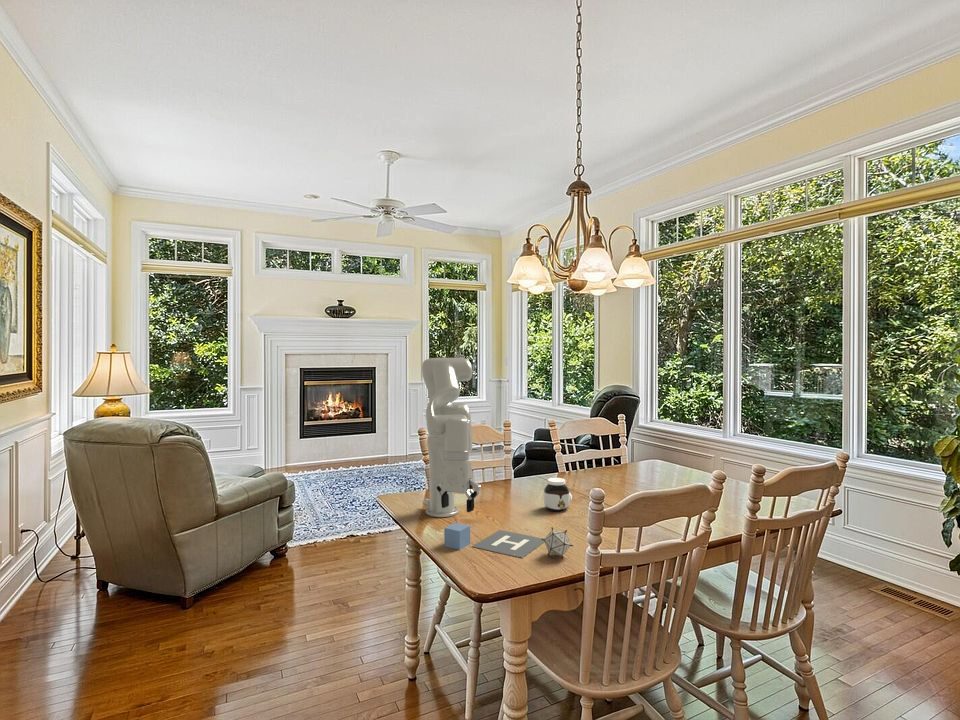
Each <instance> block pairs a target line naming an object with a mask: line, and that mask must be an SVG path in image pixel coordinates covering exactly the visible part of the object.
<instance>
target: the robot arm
mask: <svg viewBox="0 0 960 720" xmlns="http://www.w3.org/2000/svg"><path fill="white" fill-rule="evenodd" d="M472 366H473V365H472V363H471V362H470V360H469V359H468V358H466V357H431V358H426V359H425V360H424V361H422V364H421V373H422V377H423V381H424V384H425V386H426V389H427V393H428V403H427V405H426V409H425V419H426V429H427V433H428V435H427V438H426V439H427V440H426V445H427V453H428V460H429V461H428V463H429V465H428V466H429V498H424V499H423V500H422V505H423V506H426V507H427V508H426V509H425V514H426V515H427V516H429V517H432V518H449V517H452V516H453V517H454V516H456V515H457V514H458V513H459V508H458V507H457V506H455V494H463V495H465V496H466V497H467V499H466V512H467V513H471V512H473V511H474V509H475V499H476V498H477V496H478V495H479V494H480V491H481V489H482V486H481V484H479V483H478V482H477V481H475V480H474V476H473V466H472V463H471V460H470V458H469V457H470V453H471V452H472V450H473V434H472V433H473V432H472V416H471V411H470V410H471V409H470V407H469V406H468V404H466V403H463V402H454V401H456V400H457V399H458V398H459V397H460V395H461V389H460V384H459V382H469V381H471V379H472V377H473V367H472ZM473 489H474V490H473Z"/></svg>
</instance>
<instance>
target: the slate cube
mask: <svg viewBox="0 0 960 720" xmlns="http://www.w3.org/2000/svg"><path fill="white" fill-rule="evenodd" d="M443 529H444V530H443V531H444V532H443V533H444V535H443V537H444V538H443V539H444V540H443V541H444V544H443V545H444V547H447V548H451V549H455V550H459V551H460V550H462V549H464V548H466V547H468V546H469V545H471V525H467V524H464V523H458V522H454V523H452V524H449V525H448V526H446V527H444V528H443ZM467 545H468V546H467Z"/></svg>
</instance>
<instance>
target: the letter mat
mask: <svg viewBox="0 0 960 720" xmlns="http://www.w3.org/2000/svg"><path fill="white" fill-rule="evenodd" d="M541 539H544V538H542V537H537V536H532V535H526V534H524V533H523V534H522V533H517V532H512V531H507V530H503V529H498V530H497V531H495V532H494V533H492V534H490V535H489V536H487V537H485V538H483V539H482V540H480V541H479V542H477V543H475V544H473V545H472V548H475V549H478V550H479V549H480V550H483V551H489V552H493V553H496V554H497V553H498V554H501V555H505V554H507V556H510V555H512V556H511V557H514V556H516V557H515V558H519V557H521V558H520V559H524V558H525V557H526V556H527V554H528V553H529V554H530V553H532V552H533V551H534V550H536V549H538V548H539V547H540V546H542V544H545V542H544V540H541ZM531 551H532V552H531ZM514 554H515V555H514ZM529 554H528V555H529ZM524 556H525V557H524ZM523 557H524V558H523Z"/></svg>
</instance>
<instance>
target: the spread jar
mask: <svg viewBox="0 0 960 720" xmlns="http://www.w3.org/2000/svg"><path fill="white" fill-rule="evenodd" d="M572 500H573V495H572V493H571V492H570V488H569V487H568V486H567V485H566V479H565V478H561V477H550V478H548V479H547V484H546V485H545V487H544V489H543V505H544V507H545V508H546V509H547V510H548V511H550V512H555V513H557V512H558V513H559V512H561V511H562V512H564V511H566V510H568V508H569V507H570V504H571V502H572ZM562 512H561V513H562Z"/></svg>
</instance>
